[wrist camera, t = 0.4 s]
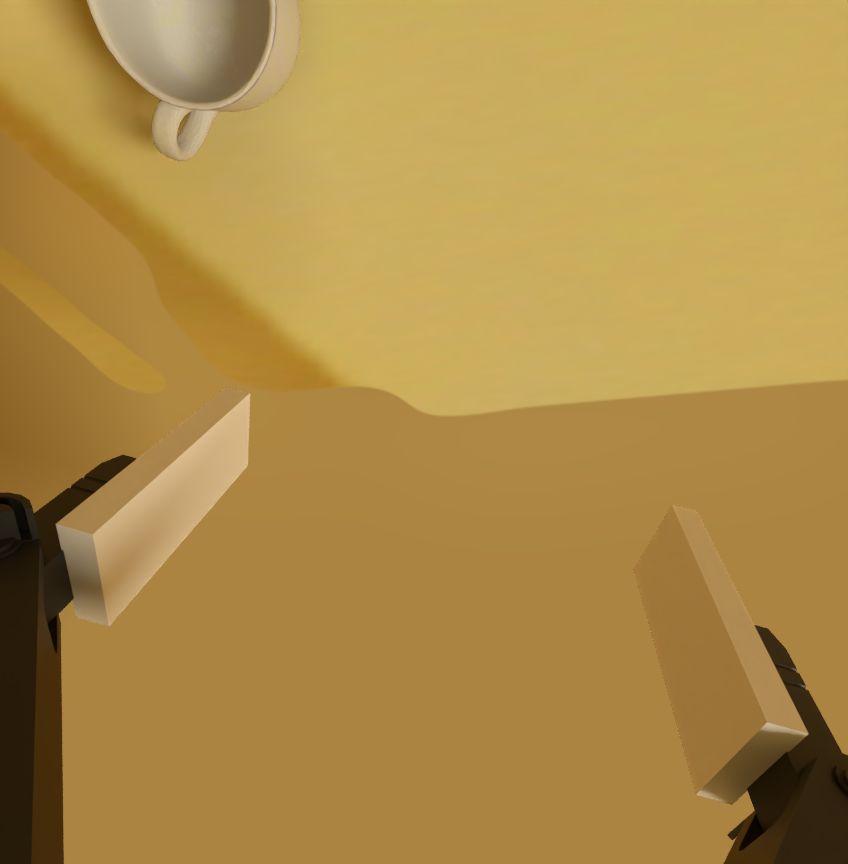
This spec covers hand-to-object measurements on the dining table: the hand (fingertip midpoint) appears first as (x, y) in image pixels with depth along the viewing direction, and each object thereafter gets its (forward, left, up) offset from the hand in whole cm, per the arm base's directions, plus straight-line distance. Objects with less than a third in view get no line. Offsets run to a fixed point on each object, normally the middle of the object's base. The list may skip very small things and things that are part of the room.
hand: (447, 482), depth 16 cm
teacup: (-11, -21, -28) cm, 37 cm away
